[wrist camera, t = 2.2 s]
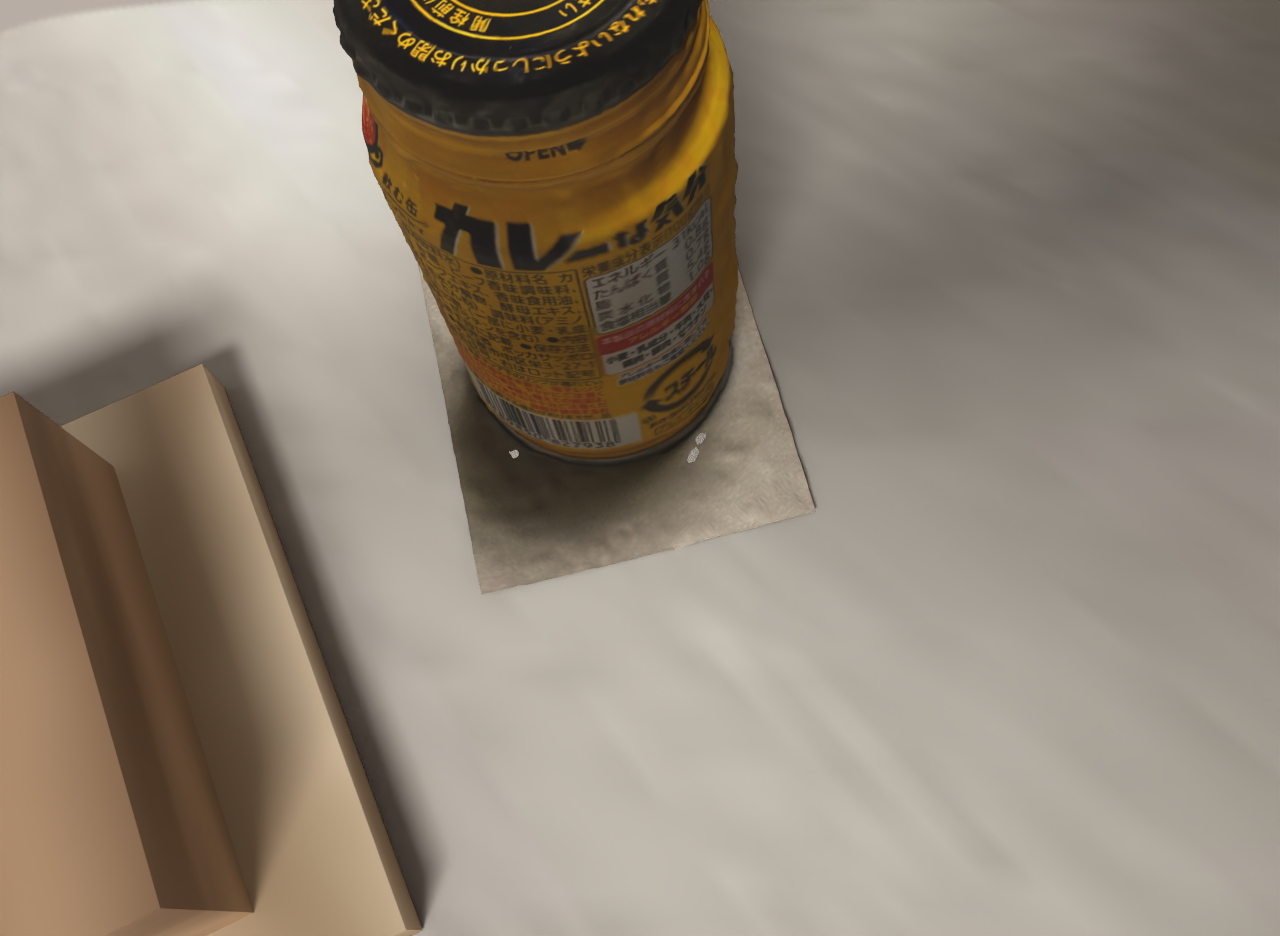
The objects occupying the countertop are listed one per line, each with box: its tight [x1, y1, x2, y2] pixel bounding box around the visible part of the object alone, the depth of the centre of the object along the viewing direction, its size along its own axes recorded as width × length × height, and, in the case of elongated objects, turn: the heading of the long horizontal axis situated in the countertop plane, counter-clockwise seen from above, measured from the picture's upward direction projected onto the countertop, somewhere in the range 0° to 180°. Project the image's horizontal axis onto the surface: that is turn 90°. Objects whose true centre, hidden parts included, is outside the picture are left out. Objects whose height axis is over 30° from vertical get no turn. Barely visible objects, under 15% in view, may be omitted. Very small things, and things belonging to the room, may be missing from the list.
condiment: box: [333, 0, 816, 594], centre depth 21 cm, size 7×8×12 cm
